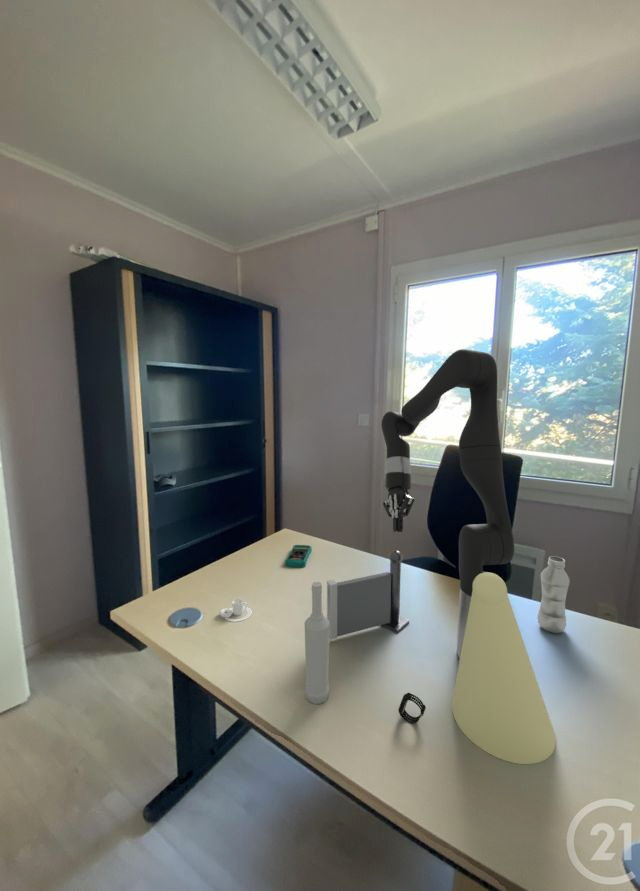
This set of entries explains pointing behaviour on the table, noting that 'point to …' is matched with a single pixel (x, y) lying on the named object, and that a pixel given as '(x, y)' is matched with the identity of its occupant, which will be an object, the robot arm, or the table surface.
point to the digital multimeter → (298, 556)
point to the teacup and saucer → (236, 611)
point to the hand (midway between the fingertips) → (397, 531)
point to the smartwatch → (403, 705)
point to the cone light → (499, 681)
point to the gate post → (395, 593)
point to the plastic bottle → (553, 596)
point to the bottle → (317, 650)
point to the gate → (358, 604)
